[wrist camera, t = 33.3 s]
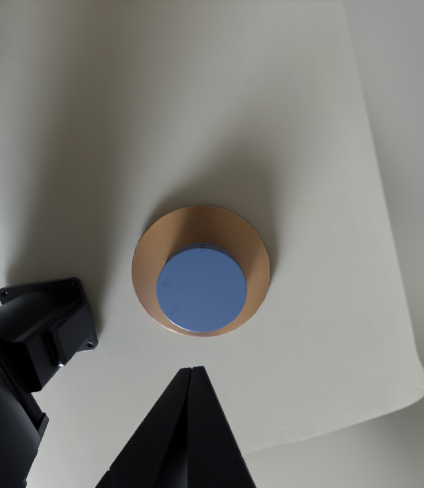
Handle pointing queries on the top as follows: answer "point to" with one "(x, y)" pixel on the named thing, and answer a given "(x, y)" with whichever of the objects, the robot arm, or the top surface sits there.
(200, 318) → the jar lid
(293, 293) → the top surface
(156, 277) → the coaster
